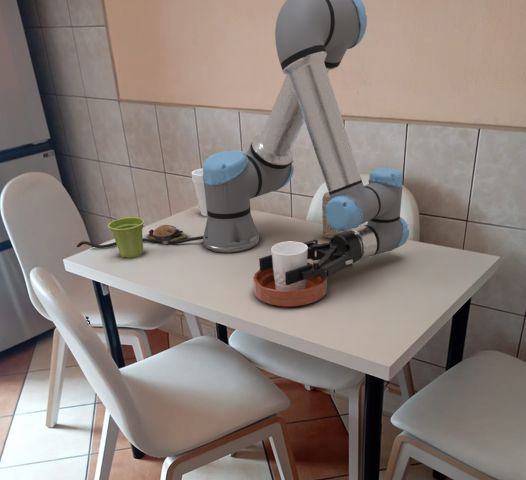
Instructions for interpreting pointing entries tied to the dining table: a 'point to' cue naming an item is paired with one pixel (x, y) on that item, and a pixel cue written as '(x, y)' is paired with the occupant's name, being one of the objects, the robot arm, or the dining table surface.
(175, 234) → the brown domed piece
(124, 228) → the plant pot
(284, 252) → the white cup
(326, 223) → the carving
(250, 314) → the dining table surface
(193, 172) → the foam cup
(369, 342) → the dining table surface
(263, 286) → the bowl
